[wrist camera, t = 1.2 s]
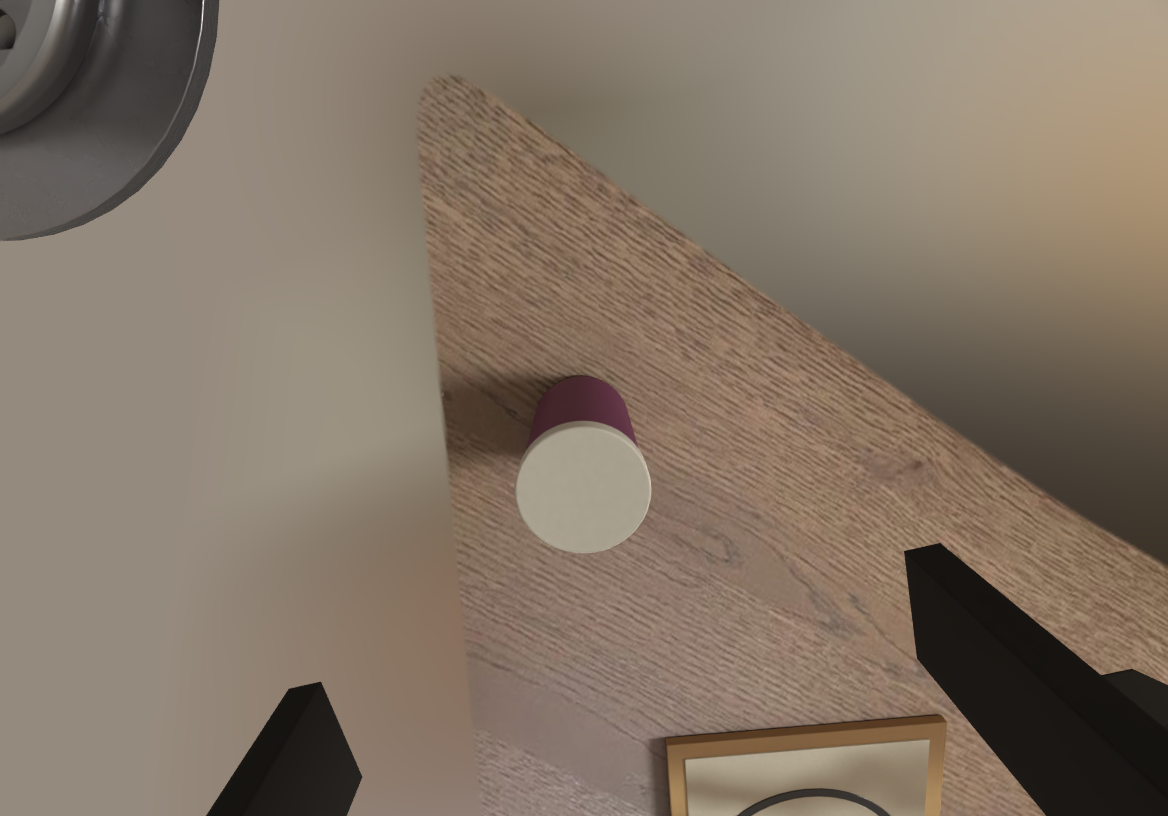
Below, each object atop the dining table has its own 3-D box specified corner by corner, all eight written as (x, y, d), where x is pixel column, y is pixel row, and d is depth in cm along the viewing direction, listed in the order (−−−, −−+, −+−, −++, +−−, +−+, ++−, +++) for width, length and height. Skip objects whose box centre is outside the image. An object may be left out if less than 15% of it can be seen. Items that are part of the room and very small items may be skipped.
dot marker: (529, 371, 29) (505, 433, 20) (624, 362, 29) (646, 420, 19) (540, 460, 30) (523, 559, 21) (631, 452, 30) (656, 548, 21)
